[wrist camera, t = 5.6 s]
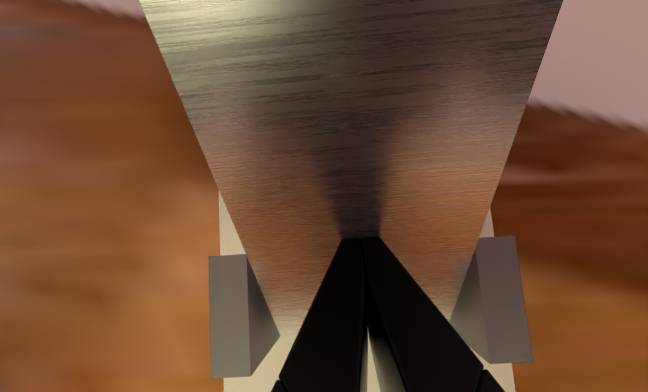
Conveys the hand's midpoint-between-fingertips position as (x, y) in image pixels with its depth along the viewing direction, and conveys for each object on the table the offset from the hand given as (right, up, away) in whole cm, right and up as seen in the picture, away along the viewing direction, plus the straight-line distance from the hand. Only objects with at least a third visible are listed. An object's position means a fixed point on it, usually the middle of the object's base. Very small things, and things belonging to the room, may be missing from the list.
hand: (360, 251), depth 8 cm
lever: (0, -2, +4) cm, 4 cm away
